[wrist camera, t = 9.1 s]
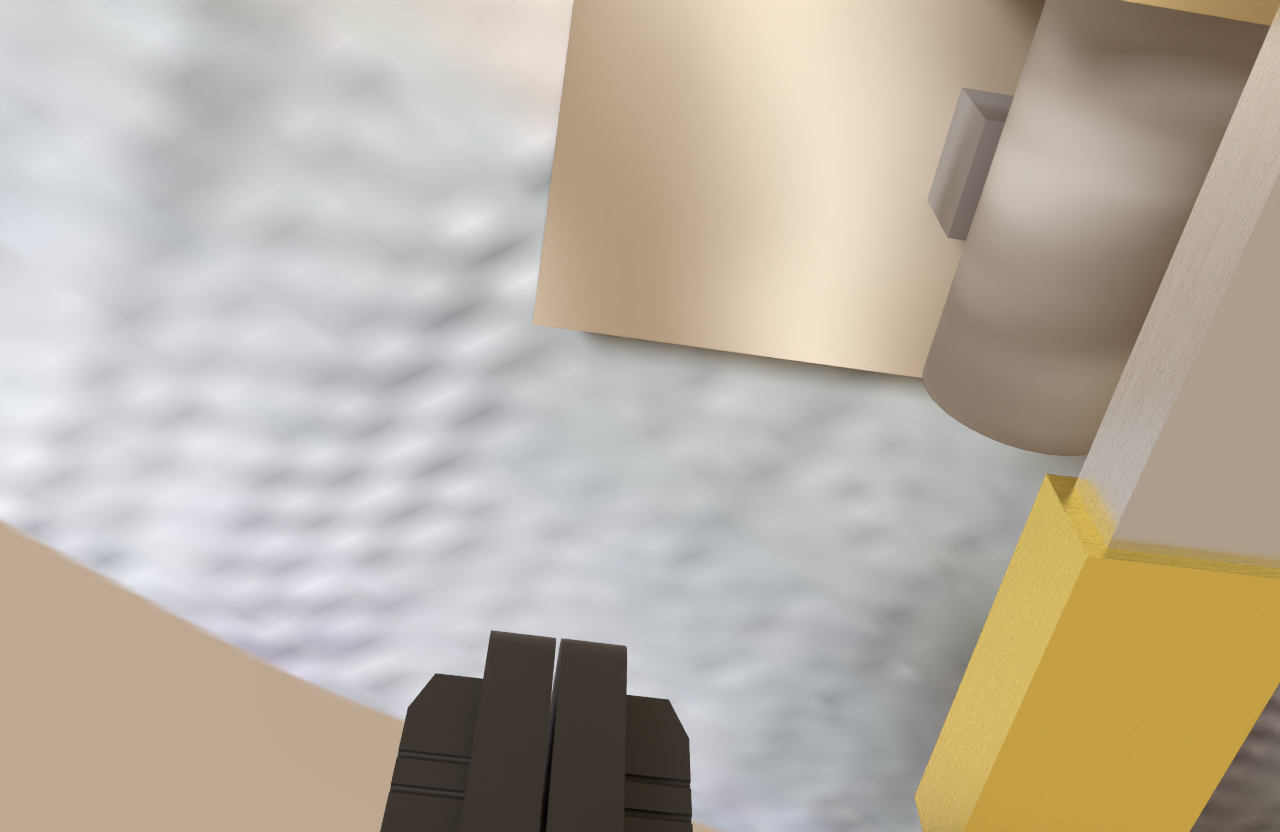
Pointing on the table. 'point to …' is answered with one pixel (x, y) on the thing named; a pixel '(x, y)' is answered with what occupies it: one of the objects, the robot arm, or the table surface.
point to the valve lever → (1146, 551)
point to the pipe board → (893, 186)
